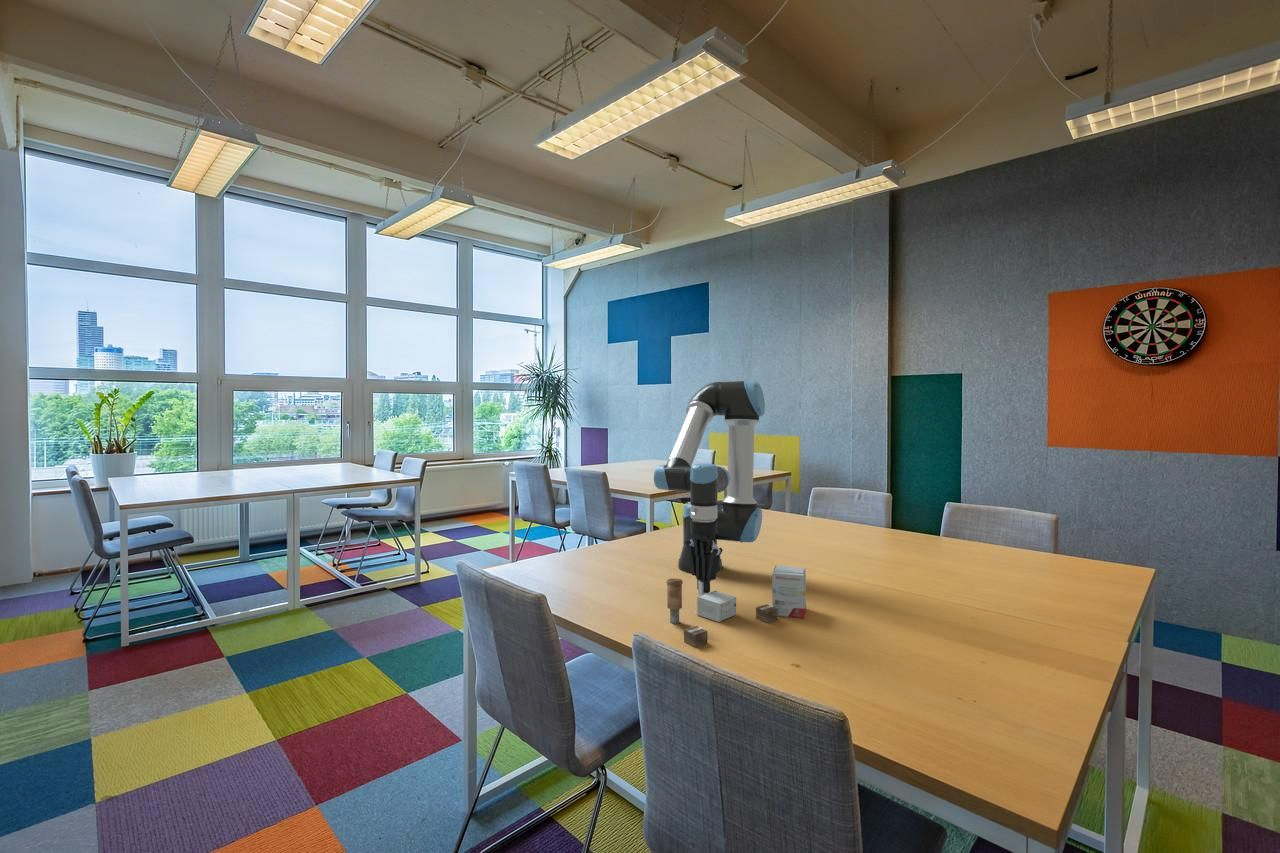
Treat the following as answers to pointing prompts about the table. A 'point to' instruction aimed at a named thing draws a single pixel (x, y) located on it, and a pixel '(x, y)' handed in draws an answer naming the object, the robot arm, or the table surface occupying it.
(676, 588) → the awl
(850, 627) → the table surface
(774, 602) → the ink box
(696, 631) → the joist marker
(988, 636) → the table surface
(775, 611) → the joist marker
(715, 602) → the small box
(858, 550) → the table surface
